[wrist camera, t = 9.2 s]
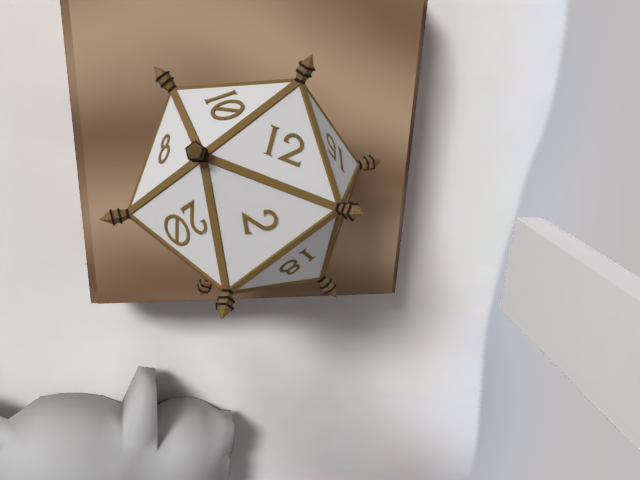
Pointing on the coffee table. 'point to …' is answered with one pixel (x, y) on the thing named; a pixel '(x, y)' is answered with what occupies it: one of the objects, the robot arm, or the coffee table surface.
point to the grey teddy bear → (117, 437)
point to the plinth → (231, 67)
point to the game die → (246, 184)
